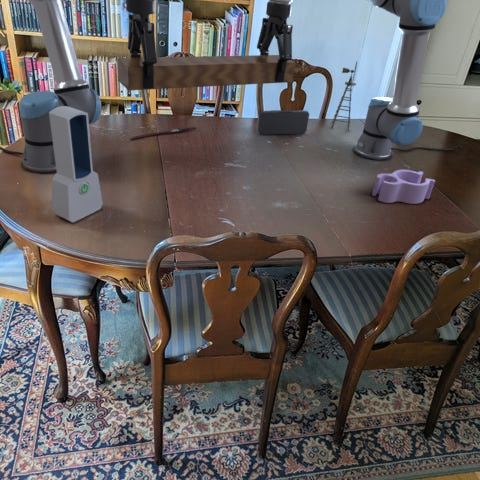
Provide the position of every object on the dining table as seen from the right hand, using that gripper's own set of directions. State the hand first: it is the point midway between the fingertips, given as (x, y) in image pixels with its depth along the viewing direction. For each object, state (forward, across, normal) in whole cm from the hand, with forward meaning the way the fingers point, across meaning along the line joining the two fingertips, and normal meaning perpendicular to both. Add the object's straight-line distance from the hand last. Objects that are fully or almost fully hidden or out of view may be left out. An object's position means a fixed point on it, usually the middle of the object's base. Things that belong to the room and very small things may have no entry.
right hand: (270, 77), depth 154 cm
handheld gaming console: (+34, -30, +30) cm, 54 cm away
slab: (0, 0, -22) cm, 22 cm away
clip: (+34, +34, +37) cm, 61 cm away
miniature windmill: (+34, -31, +63) cm, 78 cm away
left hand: (0, 0, -44) cm, 44 cm away
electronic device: (+33, +9, -67) cm, 75 cm away
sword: (+33, -42, -21) cm, 58 cm away
